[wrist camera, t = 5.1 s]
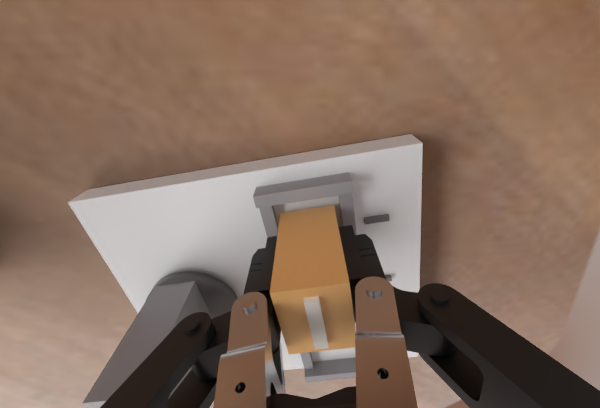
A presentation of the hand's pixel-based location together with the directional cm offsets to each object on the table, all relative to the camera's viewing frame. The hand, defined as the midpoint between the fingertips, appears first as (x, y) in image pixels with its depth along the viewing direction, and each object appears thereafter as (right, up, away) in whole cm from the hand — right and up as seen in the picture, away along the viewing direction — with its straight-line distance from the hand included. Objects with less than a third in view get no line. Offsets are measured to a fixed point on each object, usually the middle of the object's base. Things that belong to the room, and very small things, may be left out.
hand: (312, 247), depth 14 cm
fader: (0, +1, +1) cm, 1 cm away
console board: (-2, -2, +4) cm, 5 cm away
